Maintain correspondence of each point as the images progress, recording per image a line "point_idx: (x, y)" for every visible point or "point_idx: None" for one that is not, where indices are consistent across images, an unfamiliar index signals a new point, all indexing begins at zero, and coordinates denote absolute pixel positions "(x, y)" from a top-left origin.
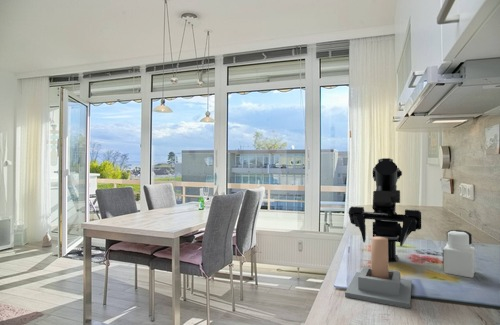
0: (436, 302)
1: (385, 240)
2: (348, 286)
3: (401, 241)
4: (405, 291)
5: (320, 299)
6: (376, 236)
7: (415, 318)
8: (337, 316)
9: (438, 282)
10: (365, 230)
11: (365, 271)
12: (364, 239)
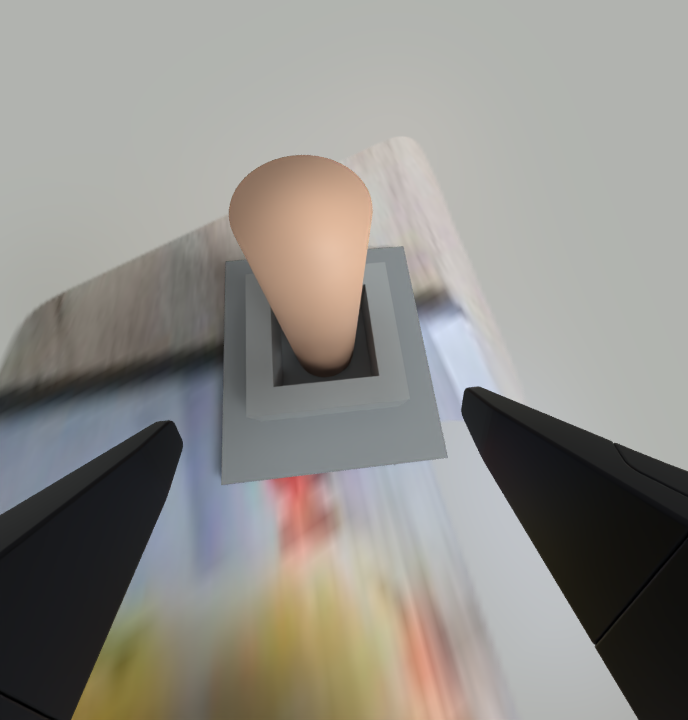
0: (157, 347)
1: (247, 179)
2: (412, 291)
3: (143, 432)
4: (240, 344)
5: (446, 211)
6: None
7: (217, 227)
8: (374, 160)
9: None
10: (589, 620)
11: (380, 332)
12: (470, 389)
